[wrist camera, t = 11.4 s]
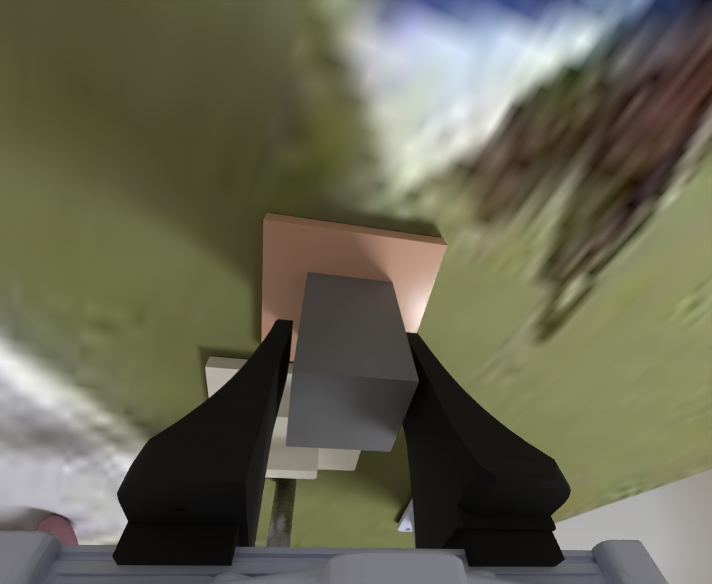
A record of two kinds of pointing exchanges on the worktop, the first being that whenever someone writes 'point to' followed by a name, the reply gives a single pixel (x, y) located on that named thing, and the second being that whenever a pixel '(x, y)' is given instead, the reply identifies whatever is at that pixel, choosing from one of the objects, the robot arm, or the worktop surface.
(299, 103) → the worktop surface
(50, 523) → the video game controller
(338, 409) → the plug
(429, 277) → the tile
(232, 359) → the socket
